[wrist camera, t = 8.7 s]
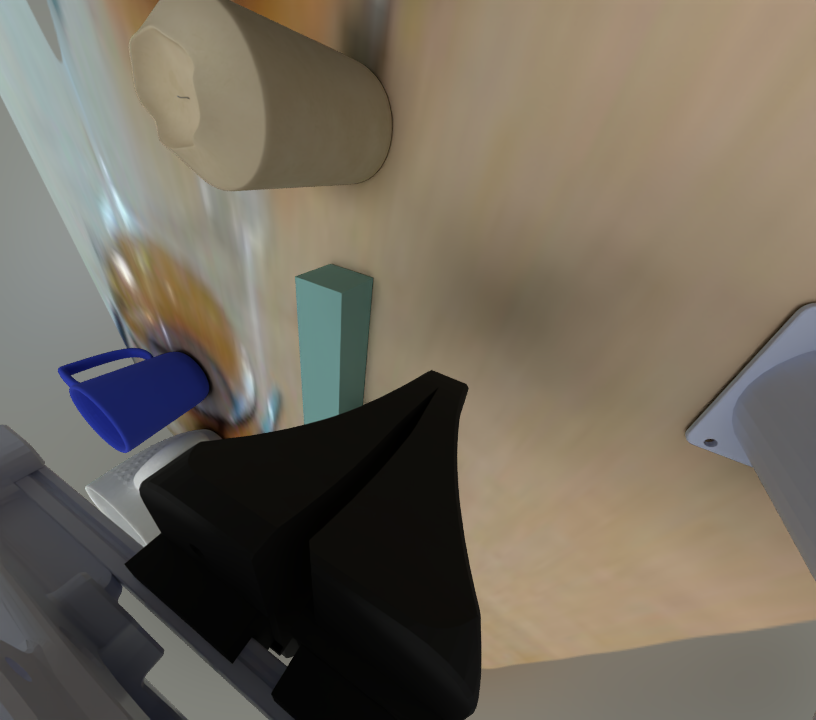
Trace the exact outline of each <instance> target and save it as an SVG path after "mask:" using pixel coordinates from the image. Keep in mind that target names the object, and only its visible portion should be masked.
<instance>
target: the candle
mask: <svg viewBox="0 0 816 720" xmlns="http://www.w3.org/2000/svg"><path fill="white" fill-rule="evenodd" d="M129 54H130V60H131V67H132V75H133V82H134V86H135V91H136V94H137V97H138V99H139V101H140V102H141V104H142V106H143V107H144V108H145V109H146V110H147V112H148V113H149V114H150V115H151V117H152V118H153V119H154V121H155V124H156V127H157V131H158V137H159V140H160V142H161V143H162V145H164V146H165V147H166V148H168V149H169V150H170V151H172V152H173V153H174V154H175V155H176V156H178V157H179V158H180V159H181V160H182V161H183V162H184V163H185V164H186V165H188V166H189V167H190V168H191V169H192V170H193V171H194V172H195V173H196V174H197V175H198V176H199V177H201V178H202V179H203V180H204V181H205V182H207V183H208V184H210V185H212V186H214V187H216V188H218V189H221V190H224V191H243V190H261V189H279V188H297V187H315V186H332V185H348V184H356V183H360V182H363V181H365V180H367V179H369V178H370V177H372V176H373V175H374V174H375V173H376V172H377V171H378V170H379V169H380V167H381V166H382V164H383V162H384V161H385V158H386V156H387V154H388V150H389V147H390V142H391V136H392V117H391V110H390V105H389V101H388V98H387V95H386V93H385V90H384V88H383V86H382V85H381V83H380V81H379V80H378V79H377V77H376V76H375V75H374V74H373V73H372V72H371V71H370V70H369V69H368V68H367V67H366V66H364V65H363V64H362V63H360V62H358V61H356V60H354V59H352V58H350V57H348V56H346V55H344V54H342V53H340V52H338V51H336V50H334V49H332V48H329V47H327V46H325V45H323V44H321V43H319V42H317V41H315V40H312V39H310V38H308V37H306V36H304V35H302V34H300V33H298V32H295V31H293V30H291V29H289V28H287V27H285V26H283V25H281V24H279V23H276V22H274V21H272V20H270V19H268V18H266V17H264V16H262V15H259V14H257V13H255V12H253V11H251V10H249V9H247V8H245V7H242V6H240V5H238V4H236V3H234V2H232V1H230V0H159V2H158V3H157V5H156V6H155V7H154V9H153V10H152V12H151V13H150V15H149V16H148V18H147V19H146V21H145V22H144V24H143V25H142V26H141V28H140V29H139V30H138V31H137V32H136V33H135V34H134V35H133V36H132V37H131V39H130V41H129Z"/></svg>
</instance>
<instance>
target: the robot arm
mask: <svg viewBox="0 0 816 720" xmlns="http://www.w3.org/2000/svg"><path fill="white" fill-rule="evenodd" d="M468 389H469V388H468V386H467V384H465V383H462V382H460V381H457V380H455V379H452V378H450V377H448V376H445V375H443V374H440V373H438V372H435V371H433V370H431V371H428V372H427V373H425V374H423V375H421V376H420V377H418V378H416V379H415V380H413V381H411V382H409V383H407V384H406V385H404V386H402V387H400V388H398V389H396V390H394V391H392V392H390V393H388V394H386V395H384V396H382V397H380V398H378V399H376V400H374V401H371V402H369V403H367V404H365V405H362V406H360V407H357V408H355V409H352V410H350V411H347V412H345V413H342V414H339V415H336V416H333V417H330V418H327V419H323V420H320V421H316V422H312V423H309V424H305V425H301V426H297V427H293V428H289V429H284V430H279V431H274V432H268V433H263V434H257V435H251V436H244V437H236V438H228V439H220V440H212V441H201V442H199V443H197V444H196V445H194V446H193V447H191V448H190V449H188V450H187V451H185V452H184V453H183V454H181V455H180V456H178V457H177V458H175V459H174V460H172V461H171V462H170V463H168V464H167V465H165V466H164V467H162V468H161V469H159V470H158V471H157V472H155V473H154V474H152V475H151V476H149V477H148V478H146V479H145V480H144V481H142V483H141V484H140V488H139V493H140V496H141V498H142V501H143V503H144V504H145V506H146V508H147V510H148V511H149V513H150V515H151V516H152V518H153V520H154V522H155V523H156V525H157V527H158V528H159V530H160V532H161V533H160V534H159V535H158V536H157V537H156V538H154V539H153V540H152V541H151V542H150V543H148V544H147V545H146V546H145V547H143V546H142V545H141V544H139V543H138V542H137V541H136V540H135V539H133V538H132V537H131V536H130V535H129V534H127V533H126V532H125V531H124V530H123V529H121V528H120V527H119V526H118V525H117V524H115V523H114V522H113V521H112V520H111V519H109V518H108V517H107V516H106V515H105V514H103V513H102V512H101V511H100V510H98V509H97V508H96V507H95V506H94V505H92V504H91V503H90V502H89V501H88V500H87V499H85V498H84V497H83V496H82V495H81V494H79V493H78V492H77V491H76V490H74V489H73V488H72V487H71V486H70V485H68V484H67V483H66V482H65V481H64V480H62V479H61V478H60V477H59V476H58V475H57V474H55V473H54V472H53V471H52V470H50V469H49V468H48V467H47V466H46V465H44V464H45V462H44V461H43V459H42V458H41V457H40V455H39V454H38V453H37V452H36V451H35V449H34V448H33V447H32V446H31V445H30V444H29V443H28V442H27V441H26V440H24V439H23V438H22V437H21V436H20V435H18V434H17V433H16V432H15V431H13V430H12V429H11V428H10V427H8V426H7V425H0V720H187V718H186V717H185V716H183V714H182V713H180V712H179V711H178V710H177V709H176V708H175V707H174V706H173V705H172V704H171V703H170V702H169V701H168V700H167V699H166V698H165V697H164V696H163V695H162V694H161V693H160V692H159V691H158V690H157V689H156V688H155V687H154V686H153V685H152V684H151V683H150V682H149V681H148V680H147V679H146V678H145V676H146V674H147V673H148V672H149V671H150V669H151V668H152V667H153V666H154V665H155V664H156V663H157V662H158V661H159V659H160V658H161V657H162V656H163V654H164V649H163V648H162V647H161V646H160V645H159V644H158V643H157V642H156V641H155V640H154V639H153V638H152V637H151V636H150V635H149V634H148V633H147V632H146V631H145V630H144V629H143V628H142V627H141V626H140V625H139V624H138V623H137V622H136V620H135V619H134V618H133V617H132V616H131V615H130V614H129V613H128V612H127V611H125V609H123V607H122V606H120V605H119V604H118V598H119V596H120V594H121V592H122V585H123V586H124V587H125V588H126V589H127V590H128V591H129V592H130V593H131V594H132V595H134V596H135V597H136V598H137V599H138V600H139V601H140V602H141V603H142V604H143V605H144V606H145V607H147V608H148V609H149V610H150V611H151V612H152V613H153V614H155V616H156V617H157V618H159V619H160V620H161V621H162V622H163V623H164V624H165V625H166V626H167V627H168V628H170V629H171V630H172V631H173V632H174V633H175V634H176V635H177V636H178V637H179V638H180V639H182V640H183V641H184V642H185V643H186V644H187V645H188V646H189V647H190V648H191V649H192V650H194V651H195V652H196V653H197V654H198V655H199V656H200V657H201V658H202V659H203V660H204V661H205V662H207V663H208V664H209V665H210V666H211V667H212V668H213V669H214V670H215V671H216V672H217V673H219V674H220V675H221V676H222V677H223V678H224V679H225V680H226V681H227V682H228V683H229V684H231V685H232V686H233V687H234V688H235V689H236V690H237V691H238V692H239V693H241V694H242V695H243V696H244V697H245V698H246V699H247V700H248V701H249V702H250V703H251V704H252V705H254V706H255V707H256V708H257V709H258V710H259V711H260V712H261V713H262V714H263V715H264V716H265V717H267V718H268V719H269V720H465V719H466V718H467V717H469V716H470V715H472V714H473V713H474V711H475V709H476V706H477V703H478V698H479V690H480V680H481V615H480V609H479V605H478V601H477V596H476V592H475V588H474V583H473V579H472V574H471V569H470V565H469V559H468V554H467V548H466V543H465V537H464V530H463V523H462V515H461V508H460V500H459V488H458V472H457V442H458V429H459V419H460V414H461V411H462V408H463V405H464V402H465V399H466V395H467V392H468ZM685 436H686V439H687V441H688V442H689V443H691V444H693V445H695V446H698V447H700V448H703V449H706V450H708V451H711V452H714V453H716V454H719V455H722V456H724V457H727V458H729V459H732V460H735V461H737V462H740V463H743V464H745V465H748V466H750V467H753V468H754V470H755V472H756V473H757V475H758V477H759V479H760V481H761V483H762V484H763V486H764V488H765V490H766V492H767V494H768V495H769V497H770V499H771V501H772V503H773V505H774V506H775V508H776V510H777V512H778V514H779V516H780V517H781V519H782V521H783V523H784V525H785V527H786V528H787V530H788V532H789V534H790V536H791V538H792V539H793V541H794V543H795V545H796V547H797V548H798V550H799V552H800V554H801V556H802V558H803V559H804V561H805V563H806V565H807V567H808V569H809V570H810V572H811V574H812V576H813V578H814V580H815V581H816V303H810V304H807V305H805V306H802V307H801V308H800V309H798V310H797V311H796V312H795V313H794V314H793V315H792V317H791V318H790V319H789V320H788V321H787V322H786V323H785V324H784V325H783V326H782V327H781V328H780V330H779V331H778V332H777V333H776V334H775V335H774V336H773V337H772V338H771V339H770V340H769V342H768V343H767V344H766V345H765V346H764V347H763V348H762V349H761V350H760V351H759V352H758V353H757V355H756V356H755V357H754V358H753V359H752V360H751V361H750V362H749V363H748V364H747V365H746V366H745V368H744V369H743V370H742V371H741V372H740V373H739V374H738V375H737V376H736V377H735V378H734V380H733V381H732V382H731V383H730V384H729V385H728V386H727V387H726V388H725V389H724V390H723V391H722V393H721V394H720V395H719V396H718V397H717V398H716V399H715V400H714V401H713V402H712V403H711V404H710V406H709V407H708V408H707V409H706V410H705V411H704V412H703V413H702V414H701V415H700V416H699V418H698V419H697V420H696V421H695V422H694V423H693V424H692V425H691V426H690V427H689V428H688V429H687V431H686V433H685ZM707 439H714V441H712V442H705V440H707ZM269 648H271V649H272V650H273V651H275V652H276V653H277V654H278V655H279V656H280V655H281V654H282V655H283V656H285V657H286V658H290V657H293V656H294V657H293V658H292V660H291V662H290V663H289V665H288V666H286V665H285V664H284V663H282V662H281V661H280V660H279V659H277V658H276V657H275V656H274V655H273V654H272V653H270V652H269V651H268V649H269ZM813 720H816V712H815V714H814V716H813Z"/></svg>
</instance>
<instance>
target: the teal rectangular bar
mask: <svg viewBox="0 0 816 720" xmlns="http://www.w3.org/2000/svg"><path fill="white" fill-rule="evenodd" d="M295 282H296V298H297V314H298V331H299V347H300V363H301V379H302V395H303V412H304V425H305V424H309V423H312V422H316V421H320V420H323V419H327V418H330V417H333V416H336V415H339V414H342V413H345V412H347V411H350V410H352V409H355V408H357V407H360V406H362V405H363V395H364V383H365V370H366V358H367V346H368V334H369V322H370V310H371V297H372V285H373V278H372V277H369V276H366V275H363V274H360V273H357V272H354V271H351V270H348V269H345V268H342V267H339V266H336V265H333V264H329V265H326V266H323V267H321V268H318V269H315V270H312V271H309V272H307V273H304V274H301V275H298V276H295Z"/></svg>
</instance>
